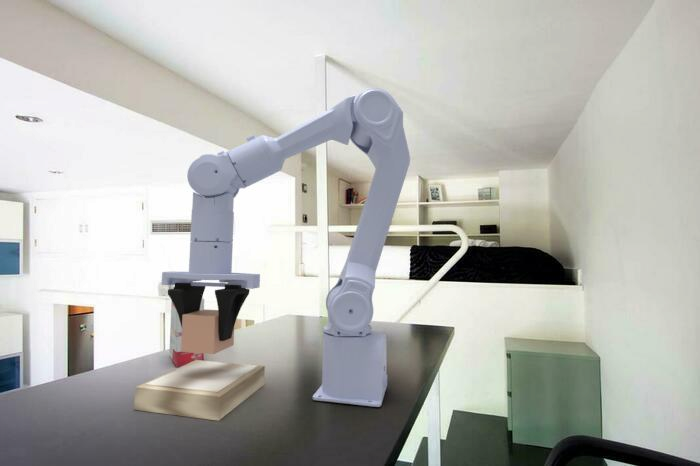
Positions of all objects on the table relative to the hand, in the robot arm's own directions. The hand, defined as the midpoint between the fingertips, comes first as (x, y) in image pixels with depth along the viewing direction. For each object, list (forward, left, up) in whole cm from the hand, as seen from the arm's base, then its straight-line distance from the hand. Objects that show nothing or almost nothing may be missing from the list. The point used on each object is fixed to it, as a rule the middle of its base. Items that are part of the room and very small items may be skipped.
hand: (207, 338), depth 49 cm
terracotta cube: (0, 0, -2) cm, 2 cm away
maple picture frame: (0, 0, -8) cm, 8 cm away
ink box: (+14, -14, -8) cm, 21 cm away
